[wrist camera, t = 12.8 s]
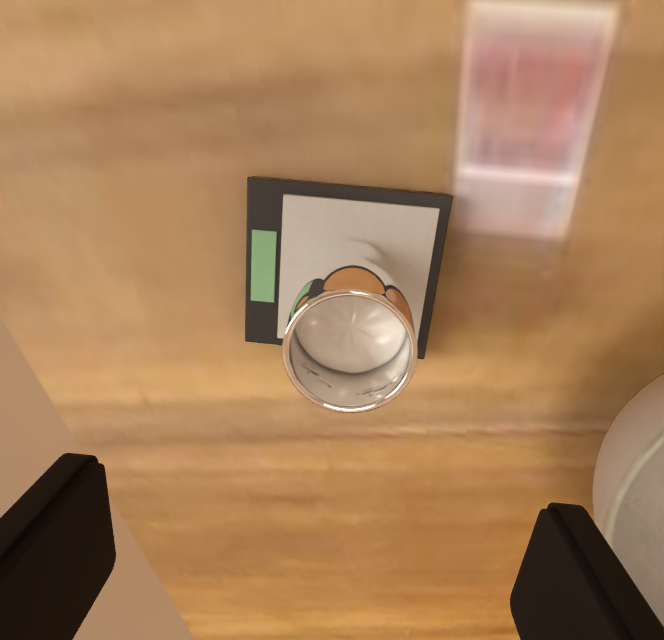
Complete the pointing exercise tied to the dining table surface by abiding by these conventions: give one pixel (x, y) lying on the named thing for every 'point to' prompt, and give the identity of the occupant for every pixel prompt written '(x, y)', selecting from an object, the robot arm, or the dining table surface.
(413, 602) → the dining table surface
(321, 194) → the scale
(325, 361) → the beer glass
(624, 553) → the decorative bowl
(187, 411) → the dining table surface
